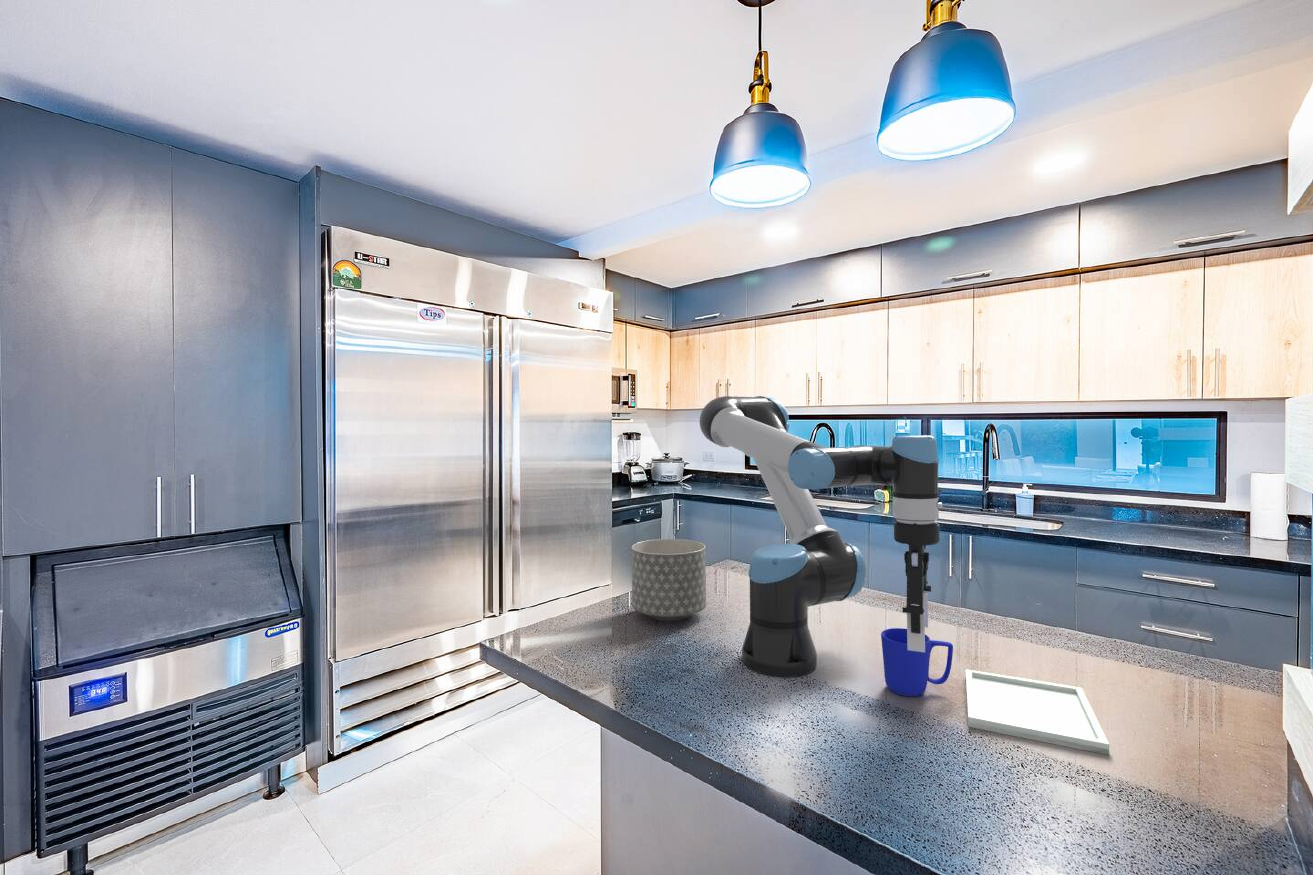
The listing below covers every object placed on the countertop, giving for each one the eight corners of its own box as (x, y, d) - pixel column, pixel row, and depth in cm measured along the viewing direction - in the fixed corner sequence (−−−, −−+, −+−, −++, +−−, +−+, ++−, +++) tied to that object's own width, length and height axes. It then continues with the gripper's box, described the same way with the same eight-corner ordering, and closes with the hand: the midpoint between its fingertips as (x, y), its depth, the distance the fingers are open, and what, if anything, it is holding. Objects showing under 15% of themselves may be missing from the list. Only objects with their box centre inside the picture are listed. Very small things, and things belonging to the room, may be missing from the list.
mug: (960, 704, 99) (959, 647, 98) (886, 698, 101) (885, 642, 101) (946, 683, 107) (945, 630, 106) (877, 678, 109) (877, 626, 109)
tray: (968, 726, 91) (968, 716, 91) (965, 677, 109) (965, 669, 109) (1109, 754, 83) (1109, 744, 83) (1081, 696, 101) (1081, 687, 101)
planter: (639, 603, 158) (638, 538, 157) (708, 605, 155) (707, 539, 155) (626, 627, 139) (625, 553, 139) (704, 630, 136) (703, 554, 136)
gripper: (937, 532, 90) (940, 666, 90) (940, 512, 113) (942, 619, 113) (886, 530, 94) (889, 658, 94) (899, 510, 116) (901, 615, 116)
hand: (918, 637), depth 103 cm, fingers open, 13 cm apart
